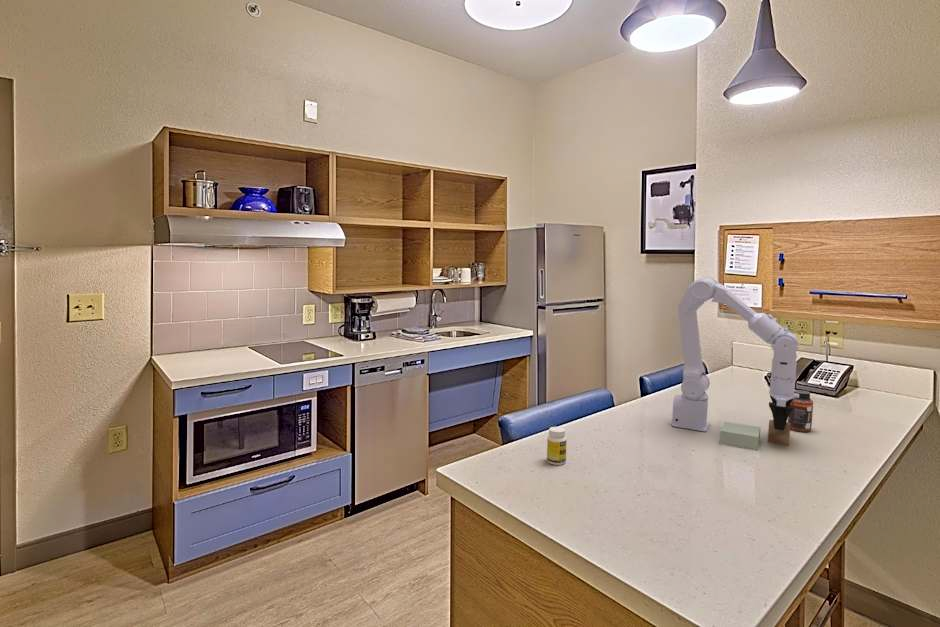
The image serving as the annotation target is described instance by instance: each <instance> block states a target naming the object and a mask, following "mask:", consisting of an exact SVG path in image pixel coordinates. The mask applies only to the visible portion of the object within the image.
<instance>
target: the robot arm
mask: <svg viewBox="0 0 940 627" xmlns="http://www.w3.org/2000/svg"><path fill="white" fill-rule="evenodd" d="M711 299H712V300H711ZM709 300H711V302H712V303H719V304H723V305H725V306H726V307H728V308H729V309H731V310H732V311H733V312H734V313H736V314H737V315H739V316H740V317H741V318H743V319H744V320H745V321H747V326H748V329H749V330H750V331H751V332H752V333H754V334H755V335H756V336H758V337H759V338H760V339H762V341H764V342H765V343H767V344H768V345H771V347H772V350H773V356H772V357H773V358H772V359H771V370H770V371H771V372H770V387H769V391H768V394H769V398H770V399H771V401H768V406H769V409H770V411H771V414H772V420H773V421H774V427H775V429H777V430H784V428H785V426H786V422H788V416H789V414H790V412H791V411H792V410H793V406H790V404H791V402H792V401H793V398H799V394H796V393H794V391H795V390H796V389H795V388H796V376H797V364H798V363H797V359H798V356H797V352H798V349H799V339H798V337H797V336H796V334H794V332H792V331H789V329H788V328H787V326H786V327H783V326H782V325H781V324H779V323H778V322H776V321H775V320H774V319H773V318H774V316H773V315H772V314H770V313H769V314H766V313H765V312H756V311H755V310H754V309H752V307H750V306H749V305H748V304H747V303H745V301H743V300H742V299H741V298H740V297H738V296H737V295H736V294H735V293H734V292H732V290H731V289H729V288H727V287H726V286H725V285H723V284H722V283H720V282H718V281H717V280H715V278H713V277H707V276H705V277H702V278H698V279H696V280H694V281H693V282H692V283H691V284H690V285H688V286H687V287H686V288H685V292H684V294H683V296H682V298H681V300H680V301H679V303H678V305H677V311H678V312H677V313H678V319H679V320H678V322H679V331H680V339H681V348H682V356H683V365H684V366H683V371H682V372H683V373H682V378H683V379H682V383H681V384H680V385H681V386H680V389H681V394H674V397H673V402H672V418H671V420H672V421H671V427H676V428H679V429H680V428H681V429H682V428H683V429H685V430H687V429H688V430H695V431H699V432H707V430H708V428H709V426H710V422H708V405H709V404H708V403H709V395H708V394H707V392H706V391H707V390H708V389H709V387H710V384H711V382H710V378H709V377H708V375H707V374H706V369H705V365H704V364H703V359H702V358H703V357H702V349H701V340H700V330H699V322H698V314H697V312H698V310H700V308H701V307H702V306H703V305H704V304H705V303H706V302H707V301H709Z"/></svg>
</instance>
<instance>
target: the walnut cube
mask: <svg viewBox="0 0 940 627" xmlns="http://www.w3.org/2000/svg"><path fill="white" fill-rule="evenodd" d="M790 433H791V429H790V423H788V421H787V422H786V426H785V428H784V430H777V429H775V427H774V421H773V419H769V421H768V432H767V443H769V444H770V443H771V444H776V445H782V446H789V445H790V436H791V434H790Z"/></svg>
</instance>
